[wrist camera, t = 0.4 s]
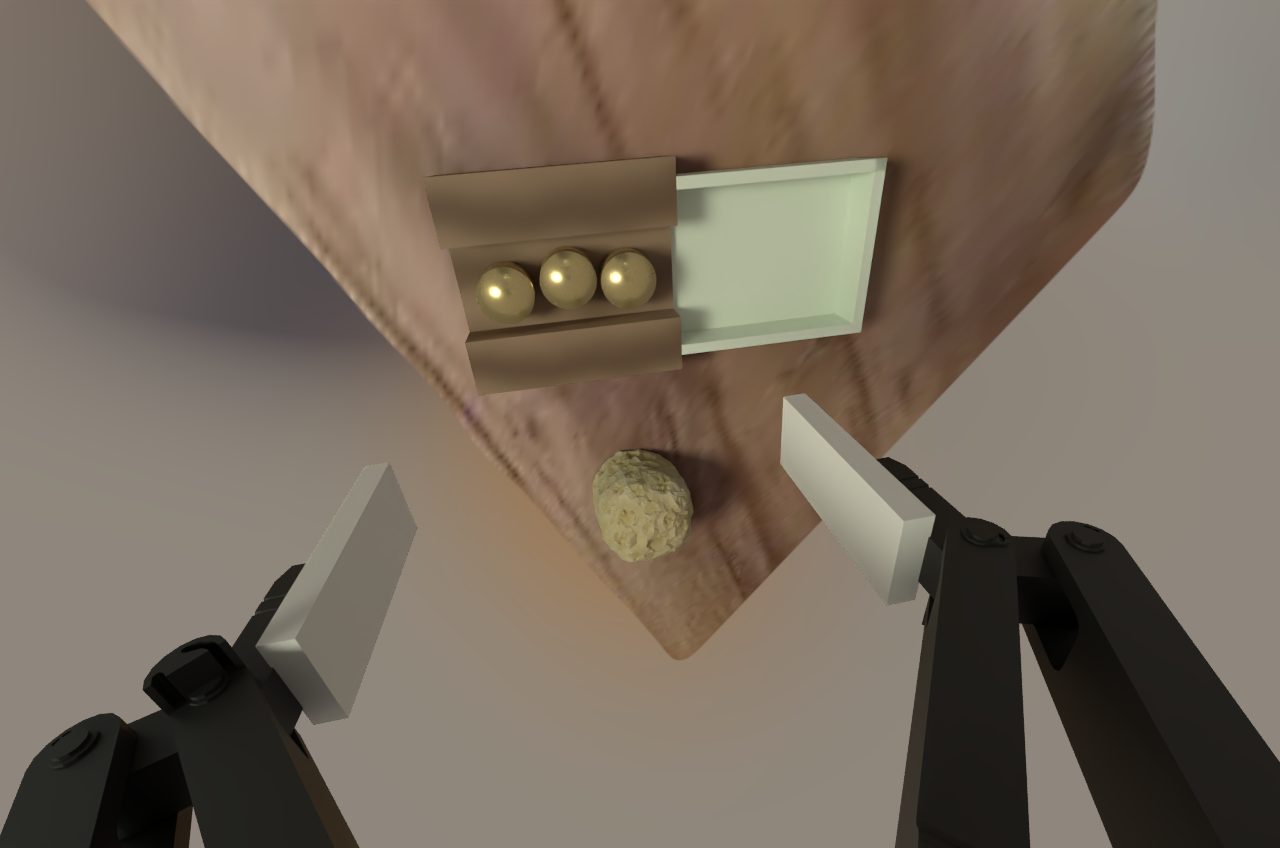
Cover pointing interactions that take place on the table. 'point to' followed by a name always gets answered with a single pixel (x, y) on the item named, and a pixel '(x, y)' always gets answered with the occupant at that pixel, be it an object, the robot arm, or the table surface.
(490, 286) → the chip
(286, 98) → the table surface
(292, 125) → the table surface
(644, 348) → the slot board
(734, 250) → the tray
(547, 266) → the chip
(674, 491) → the decorative object
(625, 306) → the chip
